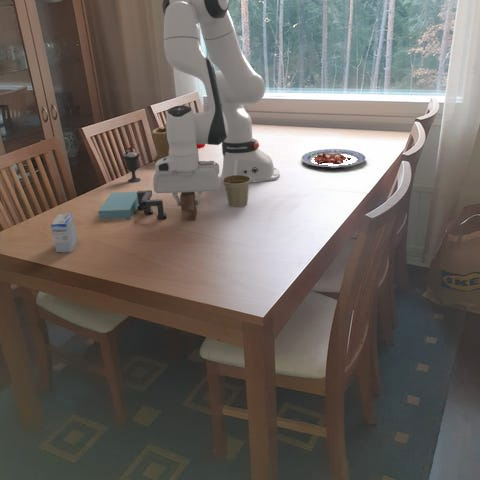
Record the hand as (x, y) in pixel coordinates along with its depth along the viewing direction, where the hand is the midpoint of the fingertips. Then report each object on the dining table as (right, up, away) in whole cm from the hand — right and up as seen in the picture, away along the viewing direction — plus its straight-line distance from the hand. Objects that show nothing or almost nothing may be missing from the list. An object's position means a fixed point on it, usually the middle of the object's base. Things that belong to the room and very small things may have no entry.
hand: (188, 204), depth 160 cm
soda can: (-4, +33, +82) cm, 88 cm away
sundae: (-25, +12, +39) cm, 48 cm away
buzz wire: (-13, -2, +6) cm, 14 cm away
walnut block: (0, -4, +2) cm, 4 cm away
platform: (-24, -1, +11) cm, 26 cm away
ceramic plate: (+54, +20, +49) cm, 76 cm away
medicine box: (-33, -13, -14) cm, 38 cm away
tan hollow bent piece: (-14, +23, +61) cm, 67 cm away
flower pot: (+15, +1, +10) cm, 19 cm away
